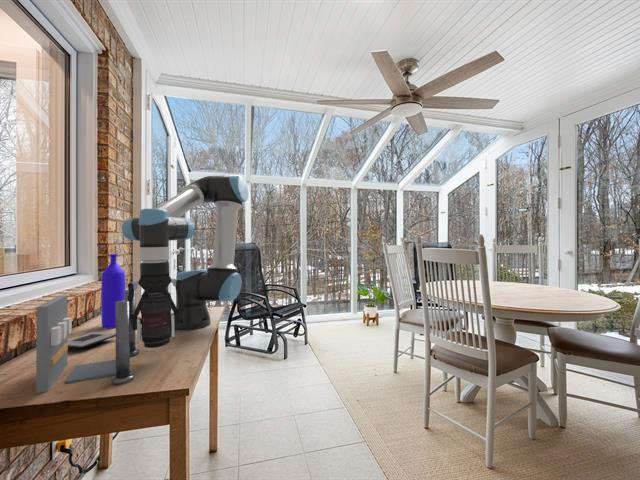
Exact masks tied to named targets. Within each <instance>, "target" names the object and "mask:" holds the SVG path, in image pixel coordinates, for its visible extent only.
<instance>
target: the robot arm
mask: <svg viewBox="0 0 640 480" xmlns="http://www.w3.org/2000/svg"><path fill="white" fill-rule="evenodd" d="M248 199H249V189H248V184H247V182H246V180H245V179H244V177H243V176H241V175H239V174H227V175H225V174H223V175H207V176H203V177H201V178H199V179H196V180H194V181H193V182H191V183H189V184H188V185H186V186H184V188H183V189H182V191H181V192H179V193H177V194H175V196H172V197H171V198H169V199H168V200H166V201H164V202H163V203H161V204H159V205H157V206H156V207H155V208H142V209H141V210H139V214H138V215H139V216H138V217H131V218H127V219H125V220H124V221H123V223H122V225H121V233H122V234H123V236H124V238H126V239H127V240H130V241H138V242H139V261H141V263H139V270H140V271H139V273H140V278H139V280H137V281H133V282H132V281H130V282H128V284H127V287H128V288H127V290H129V295H128V300H129V301H130V318H131V319H132V325H133V330H136V337H137V339H136V340H137V343H140V342H142V335H141V327H142V325H141V324H140V319H141V316H139V314H141V299H142V297H141V296H140V299H139V301H138V303H137V305H136V310H135V312H134V313H131V308H132V303H133V297H134V291H135V290H137V288H138V286H140V288H141V289H143V293H142V294H143V295H142V294H141V295H142V296H144V297H147V296H148V293H149V294H153V293H161V292H162V293H163V294H164V295H167V294H169V293H170V292H169V291H168V289H167V288H168V287H169V285H170V284H171V283H172V285H173V286H174V287H175V298H176V300H175V302H176V303H175V302H174V300H173V299H172V297H170V298H171V327H172V330H171V338H174V337H175V335H176V334H175V330H178V331H179V330H183V331H184V330H185V331H187V330H195V329H201V328H205V327H207V326H210V325H211V316H210V312H209V310H208V306H207V302H208V301H209V302H220V303H221V302H222V303H225V302H232V301H234V300H235V299H237V298H238V296H239V295H240V293H241V289H242V286H243V285H242V284H243V281H242V280H243V279H242V276H241V274H240V273H238V268H237V267H236V266H235V257H236V256H235V254H236V253H235V252H236V242H237V241H236V240H237V229H238V216H239V210H241V209H242V208H243V203H245V202H247V201H248ZM208 203H210V204H211V203H213V204H214V206H215V207H216V208H217V210H216V222H215V229H214V230H215V232H214V240H213V241H214V243H213V254H212V263H211V265H209V266H208V268H207V269H205V268H202V269H193V270H186V271H180V272H178V273H177V274H176V278H171V276H170V262H169V259H170V245H169V241H187V240H189V239H191V238H192V237H194V234H195V232H196V227H195V223H194V222H193V220H191V219H189V218H187V217H182V216H183V215H185V214H186V213H188V211H190V210H192V209H193V208H195V207H200V206H201V205H203V204H208ZM168 292H169V293H168ZM138 316H139V317H138Z"/></svg>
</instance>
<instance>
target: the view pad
mask: <svg viewBox="0 0 640 480" xmlns="http://www.w3.org/2000/svg"><path fill="white" fill-rule="evenodd" d="M114 375H116V359H110V360H105V361H97V362H92V363H83V364H78V365H77V364H76V365H74V367H73V369H72V371H71V372H70V373H69V375H68V377H67V378H66V379H65V381H64V385H66V384H71V383H76V382H82V381H83V382H84V381H89V380H94V379H95V380H96V379H102V378H106V377H113V376H114Z"/></svg>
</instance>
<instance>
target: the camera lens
mask: <svg viewBox="0 0 640 480" xmlns="http://www.w3.org/2000/svg"><path fill="white" fill-rule="evenodd" d="M168 293H169V294H167V295H164V294H163V293H162V292H161V293H153V294H149V293H148V296H147V297H144V296H142V295H143V293H142V294H141V296H140V299H141V297H142V299H141V310H140V314H141V316H140V317H141V319H140V324H141V342H143V347H144V348H147V349H155V348H159V347H160V348H161V347H163V346H167V345H168V344H169V343H170V341H171V338H172V332H171V330H172V327H171V313H172V309H171V298H172V297H171V295H172V294H171V292H169V291H168ZM170 297H171V298H170Z"/></svg>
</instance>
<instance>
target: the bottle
mask: <svg viewBox="0 0 640 480" xmlns="http://www.w3.org/2000/svg"><path fill="white" fill-rule="evenodd" d="M109 256H110V262H109V263H110V264H108V266H107V267H106V268H105V269H104V270H103V271H102V274H101V290H100V292H101V293H100V296H101V297H100V300H101V301H100V303H101V305H100V306H101V307H100V309H101V310H100V312H101V317H100V318H101V319H100V320H101V327H102V328H103V329H116V302H117V301H123V300H124V290H126V276H125V275H126V274H125V271H124V269H123V268H121V267H122V266H121V267H120V265H119V264H118V262H117V256H119V253H110V254H109Z"/></svg>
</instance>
